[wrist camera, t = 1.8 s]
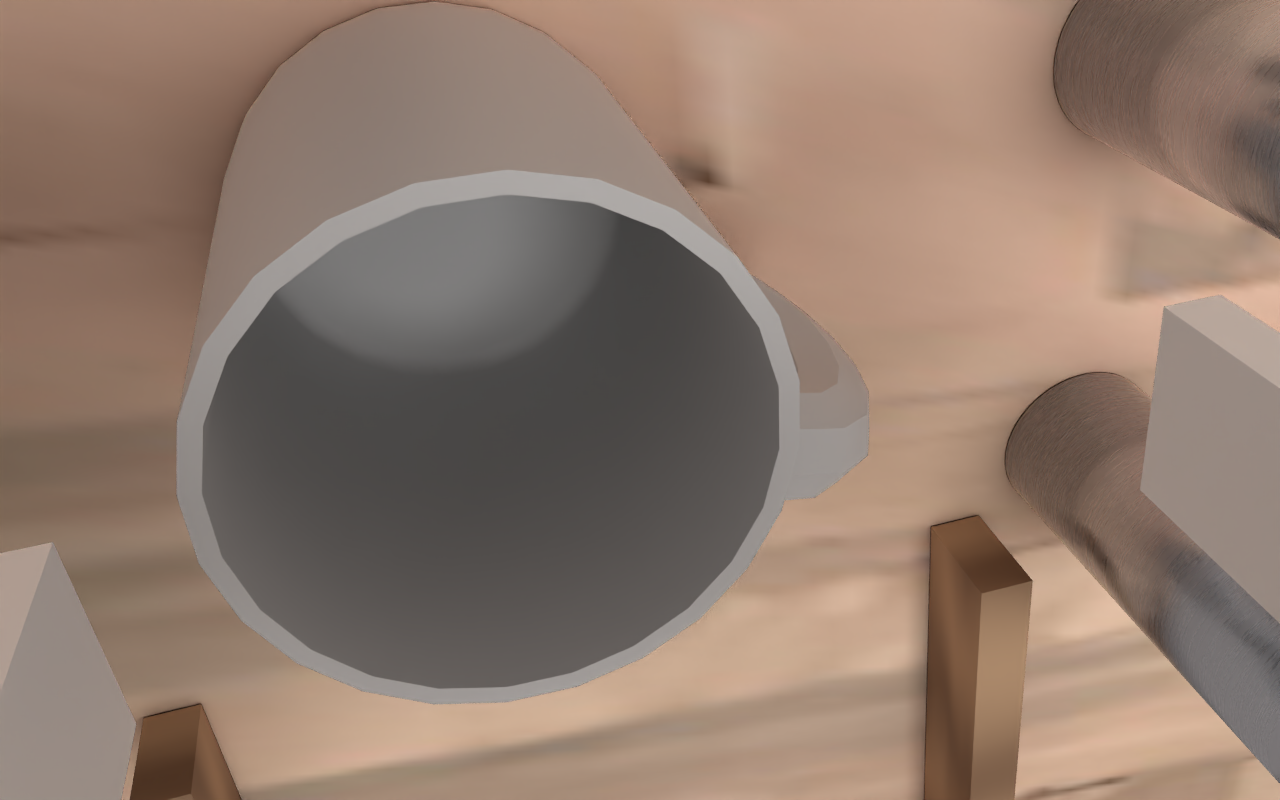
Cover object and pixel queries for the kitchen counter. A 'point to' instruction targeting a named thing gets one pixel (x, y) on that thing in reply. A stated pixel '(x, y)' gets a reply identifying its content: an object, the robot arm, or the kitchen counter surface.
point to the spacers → (1114, 406)
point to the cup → (483, 372)
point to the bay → (956, 685)
